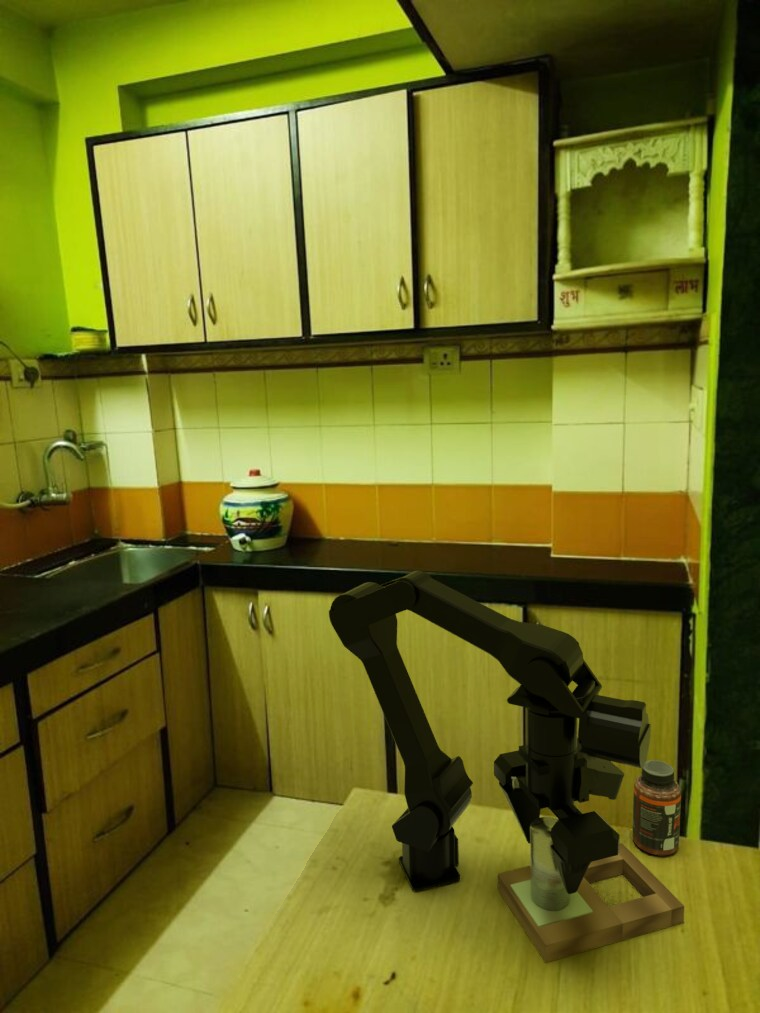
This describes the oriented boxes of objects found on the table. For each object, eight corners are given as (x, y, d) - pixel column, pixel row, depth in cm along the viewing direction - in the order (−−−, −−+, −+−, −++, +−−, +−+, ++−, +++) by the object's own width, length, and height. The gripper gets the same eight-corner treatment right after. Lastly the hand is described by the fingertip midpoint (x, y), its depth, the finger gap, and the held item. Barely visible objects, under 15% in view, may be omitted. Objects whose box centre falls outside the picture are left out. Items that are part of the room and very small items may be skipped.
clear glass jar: (542, 914, 81) (541, 844, 80) (524, 889, 86) (523, 821, 84) (577, 905, 83) (577, 835, 81) (557, 880, 87) (556, 813, 85)
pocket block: (545, 962, 78) (545, 943, 77) (497, 889, 89) (497, 872, 89) (683, 922, 83) (684, 904, 82) (621, 857, 94) (622, 841, 94)
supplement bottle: (683, 860, 93) (686, 781, 91) (635, 855, 94) (637, 778, 92) (674, 832, 99) (677, 757, 97) (629, 828, 100) (631, 754, 98)
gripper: (665, 772, 74) (661, 904, 77) (570, 698, 92) (569, 807, 94) (571, 793, 71) (569, 930, 74) (491, 712, 89) (492, 825, 91)
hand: (550, 866), depth 83 cm, fingers open, 9 cm apart
